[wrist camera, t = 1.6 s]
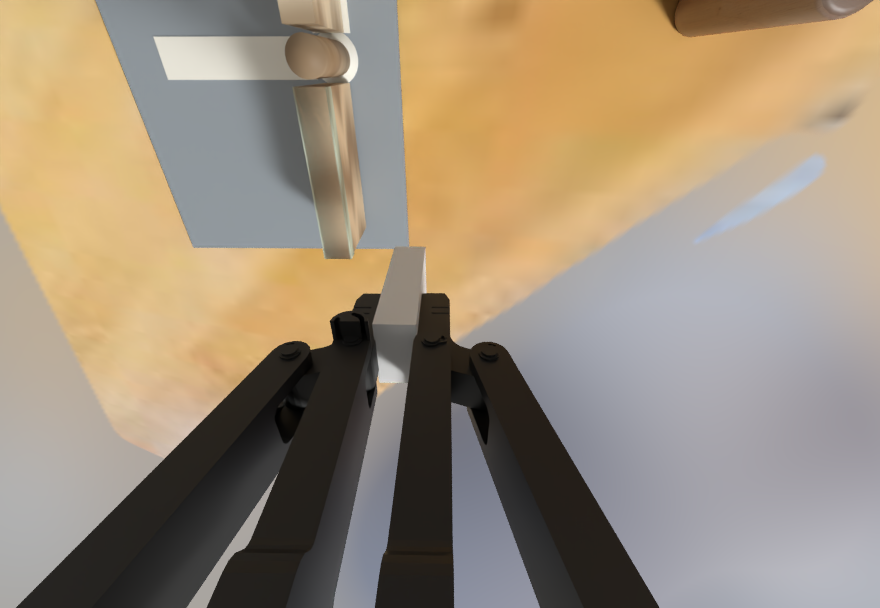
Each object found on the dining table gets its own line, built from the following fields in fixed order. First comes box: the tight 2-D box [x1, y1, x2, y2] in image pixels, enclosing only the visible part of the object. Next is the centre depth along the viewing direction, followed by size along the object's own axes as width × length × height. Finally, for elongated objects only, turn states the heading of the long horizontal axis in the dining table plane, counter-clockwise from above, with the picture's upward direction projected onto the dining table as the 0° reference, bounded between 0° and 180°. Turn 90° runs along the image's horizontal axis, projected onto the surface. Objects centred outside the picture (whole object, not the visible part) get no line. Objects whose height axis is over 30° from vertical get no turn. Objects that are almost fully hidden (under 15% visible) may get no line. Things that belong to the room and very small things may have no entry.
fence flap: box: [292, 83, 366, 259], centre depth 29 cm, size 12×2×7 cm, turn 0°
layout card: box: [95, 0, 409, 249], centre depth 29 cm, size 32×22×1 cm
